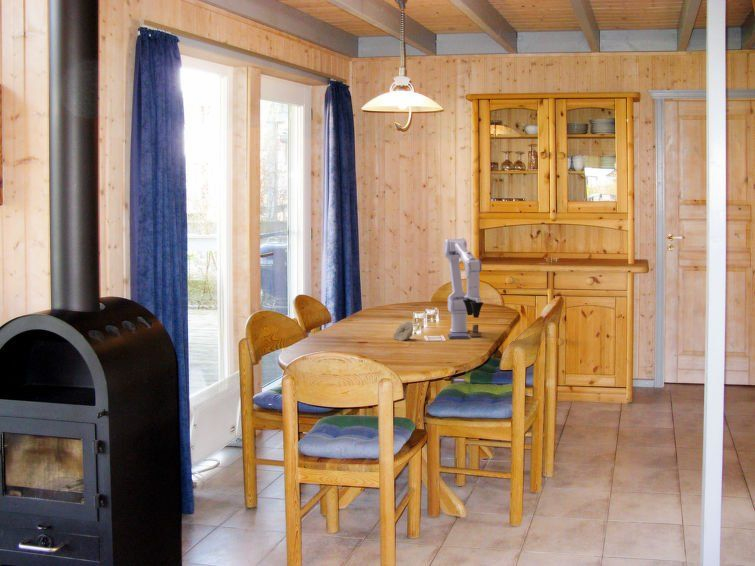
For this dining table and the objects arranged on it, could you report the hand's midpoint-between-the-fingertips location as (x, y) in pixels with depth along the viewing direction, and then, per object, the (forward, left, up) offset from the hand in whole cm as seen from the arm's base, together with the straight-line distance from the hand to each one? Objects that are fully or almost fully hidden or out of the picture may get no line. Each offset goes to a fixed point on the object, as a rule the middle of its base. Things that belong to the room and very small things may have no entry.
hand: (473, 316), depth 426 cm
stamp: (-3, +2, -10) cm, 10 cm away
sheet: (+1, -17, -10) cm, 20 cm away
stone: (+2, -32, -10) cm, 33 cm away
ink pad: (-1, -6, -10) cm, 12 cm away
